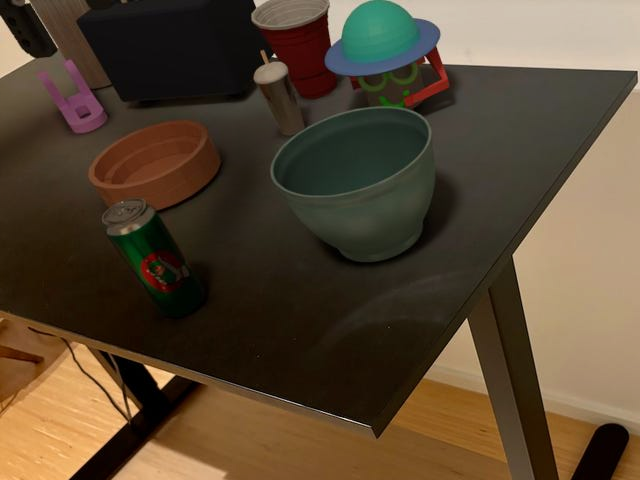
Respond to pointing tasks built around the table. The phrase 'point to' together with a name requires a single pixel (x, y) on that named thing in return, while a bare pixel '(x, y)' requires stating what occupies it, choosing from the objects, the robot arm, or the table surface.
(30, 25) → the robot arm
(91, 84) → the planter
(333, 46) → the toy robot
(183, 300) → the soda can
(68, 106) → the bracket
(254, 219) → the table surface
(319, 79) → the plastic cup
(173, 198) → the terracotta plant saucer
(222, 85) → the speaker
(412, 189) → the flower pot
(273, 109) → the milkshake
